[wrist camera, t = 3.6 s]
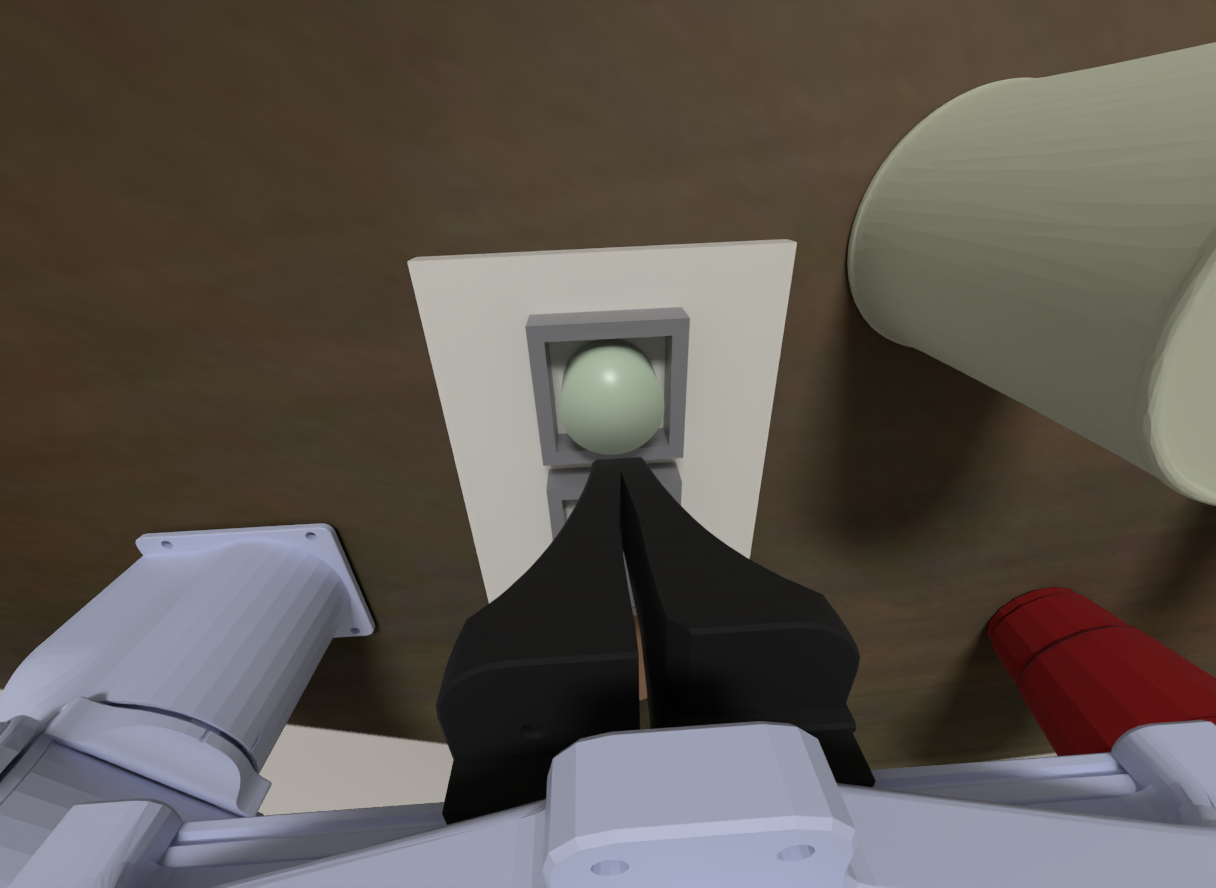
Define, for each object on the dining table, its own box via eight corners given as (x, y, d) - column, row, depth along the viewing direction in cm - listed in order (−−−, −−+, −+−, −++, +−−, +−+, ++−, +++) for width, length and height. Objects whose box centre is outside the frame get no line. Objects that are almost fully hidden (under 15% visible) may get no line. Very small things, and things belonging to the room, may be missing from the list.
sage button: (566, 428, 20) (564, 457, 18) (558, 341, 18) (554, 362, 16) (655, 423, 20) (663, 451, 18) (656, 336, 18) (665, 357, 16)
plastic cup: (974, 559, 27) (1220, 802, 16) (1159, 548, 27) (1518, 782, 17) (919, 676, 32) (1078, 915, 22) (1073, 666, 32) (1304, 898, 22)
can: (1101, 274, 19) (1724, 395, 9) (877, 383, 21) (1163, 588, 11) (1094, 12, 15) (2277, -363, 4) (815, 180, 17) (1186, 188, 6)
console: (509, 662, 30) (502, 702, 27) (416, 257, 18) (391, 269, 15) (729, 648, 30) (741, 686, 28) (786, 239, 18) (815, 248, 16)
